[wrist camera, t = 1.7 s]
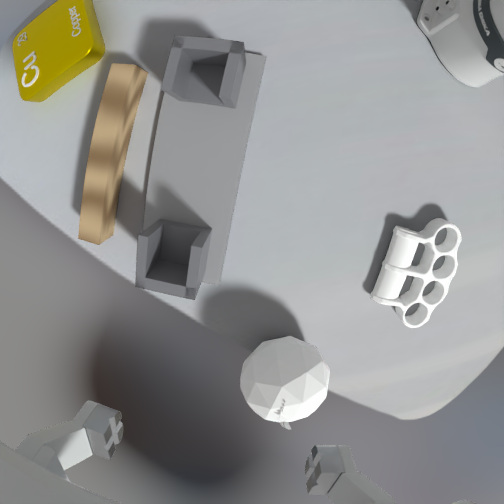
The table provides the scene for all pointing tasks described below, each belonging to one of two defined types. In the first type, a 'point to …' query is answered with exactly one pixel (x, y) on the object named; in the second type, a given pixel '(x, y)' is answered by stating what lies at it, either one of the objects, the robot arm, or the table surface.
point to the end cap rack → (196, 163)
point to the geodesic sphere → (284, 379)
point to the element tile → (56, 48)
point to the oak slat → (109, 151)
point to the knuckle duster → (417, 270)
